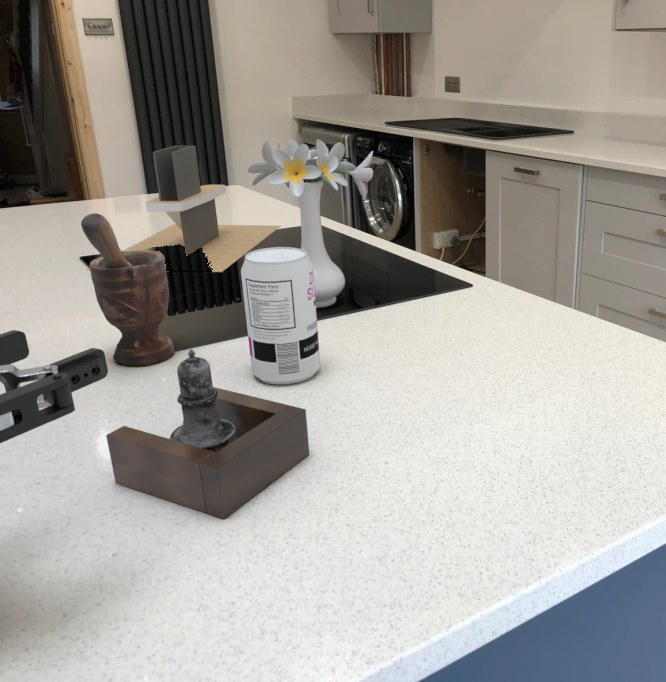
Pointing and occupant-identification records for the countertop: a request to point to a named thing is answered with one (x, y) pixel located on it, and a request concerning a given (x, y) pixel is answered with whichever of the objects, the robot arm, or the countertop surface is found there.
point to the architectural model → (195, 212)
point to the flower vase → (313, 200)
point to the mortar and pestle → (130, 294)
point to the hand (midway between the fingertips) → (62, 351)
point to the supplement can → (281, 314)
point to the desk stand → (215, 456)
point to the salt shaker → (200, 408)
